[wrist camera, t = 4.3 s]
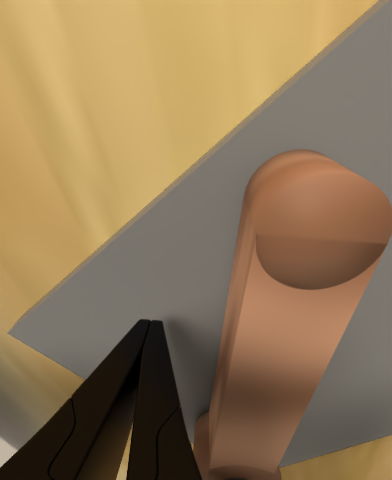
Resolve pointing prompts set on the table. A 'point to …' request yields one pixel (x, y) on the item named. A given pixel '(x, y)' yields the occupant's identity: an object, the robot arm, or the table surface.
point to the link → (287, 306)
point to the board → (224, 243)
